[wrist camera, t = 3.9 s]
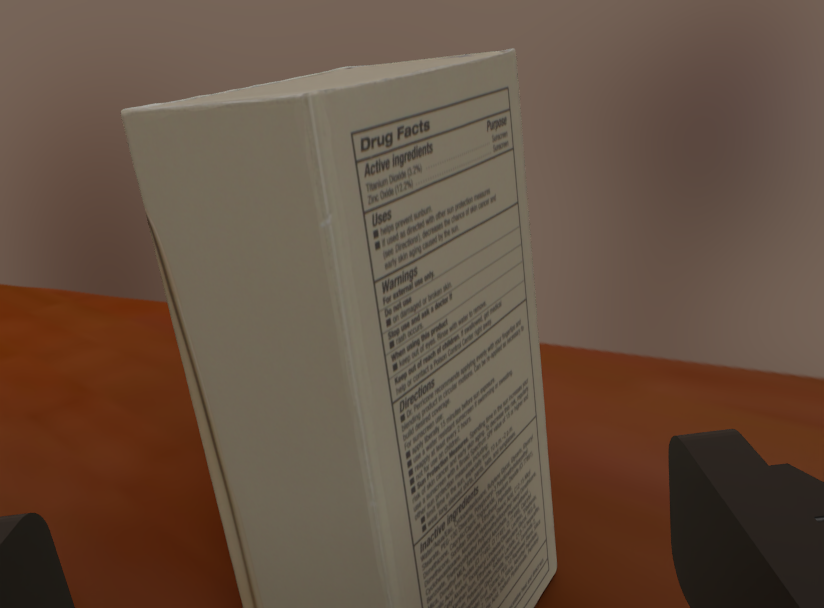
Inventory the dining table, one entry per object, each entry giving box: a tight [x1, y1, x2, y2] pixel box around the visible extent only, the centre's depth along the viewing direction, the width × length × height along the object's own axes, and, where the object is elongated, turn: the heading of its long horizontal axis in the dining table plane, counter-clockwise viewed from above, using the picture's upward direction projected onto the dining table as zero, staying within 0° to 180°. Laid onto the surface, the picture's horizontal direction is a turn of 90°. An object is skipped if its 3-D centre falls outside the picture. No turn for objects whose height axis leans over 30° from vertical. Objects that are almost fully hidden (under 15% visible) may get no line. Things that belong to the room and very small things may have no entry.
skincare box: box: [121, 49, 557, 608], centre depth 15 cm, size 6×4×12 cm
